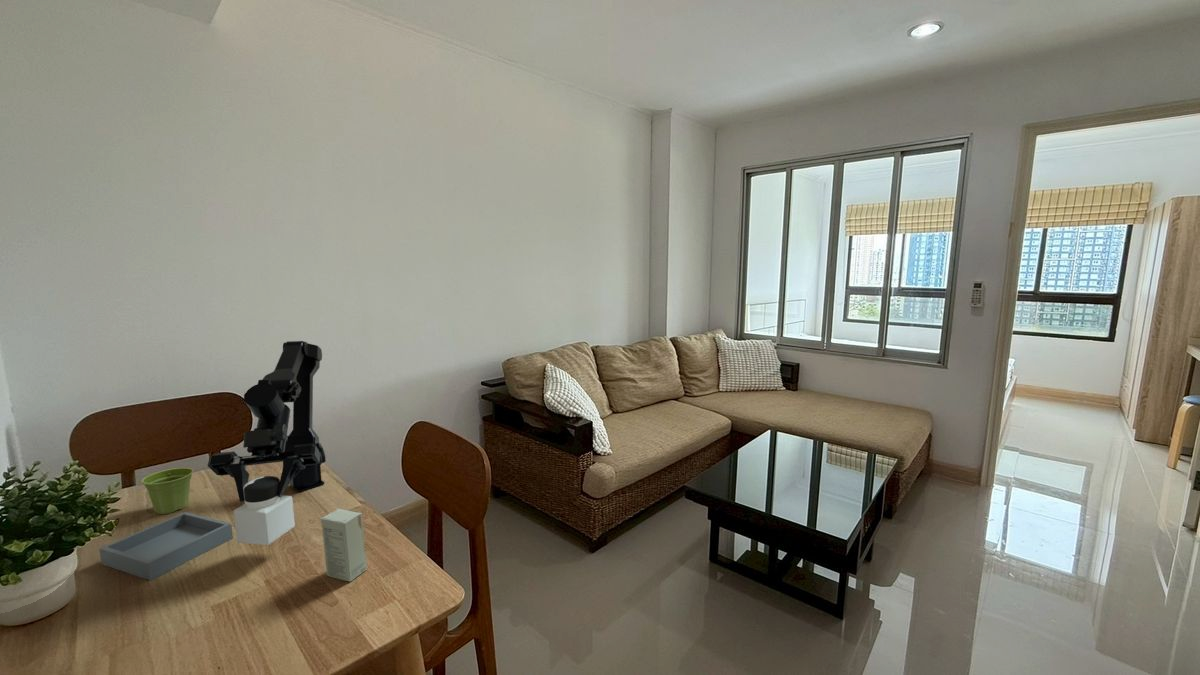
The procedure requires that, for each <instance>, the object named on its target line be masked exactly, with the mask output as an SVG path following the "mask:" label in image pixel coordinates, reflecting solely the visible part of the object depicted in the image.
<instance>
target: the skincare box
mask: <svg viewBox="0 0 1200 675" xmlns="http://www.w3.org/2000/svg"><path fill="white" fill-rule="evenodd" d="M320 520H321V529H322V530H321V531H322V538H323V550H324V558H325V559H324V560H325V568H326V569H325V570H326V576H328V577H330V578H334V579H337V580H341V581H345V582H346V581H347V582H352V581H354V580H355V579H356V578H357V577H359V576H360V575H361V574H363V573H364V572H365V571H366V570H368V564H367V553H366V542H365V540H366V539H365V533H364V532H365V531H364V520H363V512H361V511H360V512H359V511H355V510H351V509H347V508H346V509H345V508H340V507H339V508H337V509H335V510H334V511H332V512H330V513H329V514H327V515H325V516H323V517H321V518H320Z"/></svg>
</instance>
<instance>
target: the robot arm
mask: <svg viewBox="0 0 1200 675" xmlns="http://www.w3.org/2000/svg"><path fill="white" fill-rule="evenodd" d="M322 351H323V350H322V348H321V347H320V346H319V345H316V344H312V343H308V342H307V341H304V340H293V341H292V340H289V341H286V342H285V341H284V342H283V343H282V352H281V354H280V356H279V358H278V361H277V363H276V365H275V368H274V369H273V371H272V372H269V373H267V374H266V375H264V377H262V379H258V381H257V384H255V385H252V386H251V387H250V388H248V389H247V390H246V392H245V393H244V395H243V401H244V402H245V404H246V405H247V407H248V409H249V410H250V411H251V413H252V414H253V415H254V417H256V418H257V424H256V428H254V429H253V430H247V431H246V430H245V431H244V432H243V448H244V449H245V448H246V452H248V454H250V453H251V455H244V456H240V455H238V454H237V453H236V451H225V452H216V453H213V454H212V455H211V456H210V457H209V458H208V461H207V468H209V469H210V470H211V471H212V472H213V473H214V474H215V475H216V476H230V477H231V478H233V479H234V482H235V487H236V491H237V496H238V500H239V501H240V503H245V500H244V490H243V487H244V485H245V484H246V483H248V482H249V479H250V473H249V472H248V471H247V466H255V465H265V464H271V463H272V464H273V463H281V462H282V471H281V474H280V475H281V476H280V478H279V480H280V483H279V487H278V497H281V496H282V495H283V494H284V493H285V492H286V490H287V488H288V487H289V486H290V487H291V488H293V489H294V491H295V490H296V492H297V493H300V492H305V491H306V490H310V489H313V488H316V486H317V487H319V486H322V485H325V481H323V480H322V469H321V466H322V464H323V463H326V462H327V458H326V457H327V456H326V452H325V450H324V446H323V445H322V443H320V437H319V435H317V433H316V432H315V430H314V429H313V416H314V415H313V406H314V405H313V404H314V403H313V402H314V400H313V399H314V395H313V393H314V391H313V390H314V376H315V375H316V373H317V372H318V370H319V369H320V367H321V366H320V363H321V361H322V359H323V352H322ZM286 403H292V404H293V406H292V407H293V410H292V412H293V413H292V430H291V431H290V433H289V435H288V430H289V422H290V418H291V416H290V415H291V409H290V407H289V406H288V405H287V404H286Z"/></svg>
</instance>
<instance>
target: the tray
mask: <svg viewBox="0 0 1200 675" xmlns="http://www.w3.org/2000/svg"><path fill="white" fill-rule="evenodd" d="M232 527H233V526H232V523H231V522H227V521H223V520H218V519H215V518H212V517H207V516H203V515H200V514H196V513H192V512H187V511H184V512H181V513H179V514H176V515H174V516H171V517H170V518H168V519H166V520H163V521H161V522H158V523H156V524H154V525H151V526H149V527H147V528H144V529H141V530H139V531H137V532H134V533H132V534H130V535H127V536H125V537H123V538H121V539H118V540H115V541H114V542H111V543H109V544H106V545H104V546H101V547H99V554H100V555H99V556H100V562H101V565H102V564H105V565H107V566H106V567H108V566H110V567H109V568H111V567H113V568H112V569H114V568H115V569H114V570H117V569H118V571H120V570H121V572H123V571H124V572H125V573H127V574H130V575H133V576H135V577H139V578H141V579H145V580H148V581H152V580H154V579H156V578H158V577H160V576H162V575H163V574H165V573H168V572H169V571H171V570H174V569H175V568H177V567H179V566H182V565H183V564H186V563H187V562H189V561H191V560H194V558H197V557H199V556H201V555H202V554H205V553H207V552H209V551H211V550H212V549H215V548H216V547H218V546H221V545H222V544H224V543H226V542H228V541H230V540H232V539H233V538H234V536H233V528H232ZM105 565H104V566H105Z"/></svg>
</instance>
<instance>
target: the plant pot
mask: <svg viewBox="0 0 1200 675" xmlns="http://www.w3.org/2000/svg"><path fill="white" fill-rule="evenodd" d="M193 474H194V469H193V468H191V467H174V468H168V469H165V470H160V471H156V472H154V473H151V474H149V475H147V476H144V477H143V478H142V479H141V482H140V483H141V484H142V485H144V487H145V489H146V490H147V492H148V495H149V498H150V501H151V504H152V506H153V507H152V508H153V510H154V513H157V514H159V515H163V514H164V515H165V514H171V513H174V512H176V511H177V510H183V509H185V508H186V507H188V506H189V502H190V501H189V500H190V499H189V498H190V487H191V485H190V484H191V479H192V475H193Z"/></svg>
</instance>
